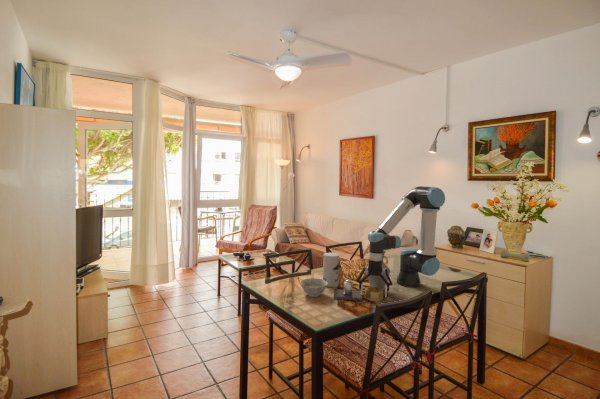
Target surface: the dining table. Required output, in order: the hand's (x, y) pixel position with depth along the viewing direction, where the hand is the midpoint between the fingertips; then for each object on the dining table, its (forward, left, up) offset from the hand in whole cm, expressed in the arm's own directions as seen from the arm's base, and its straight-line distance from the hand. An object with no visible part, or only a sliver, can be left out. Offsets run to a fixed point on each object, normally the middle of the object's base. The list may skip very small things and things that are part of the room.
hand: (373, 295), depth 191 cm
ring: (0, 0, -2) cm, 2 cm away
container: (+26, -18, -2) cm, 32 cm away
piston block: (+15, 0, -2) cm, 15 cm away
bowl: (+35, +2, -2) cm, 35 cm away
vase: (-3, -13, -2) cm, 14 cm away
